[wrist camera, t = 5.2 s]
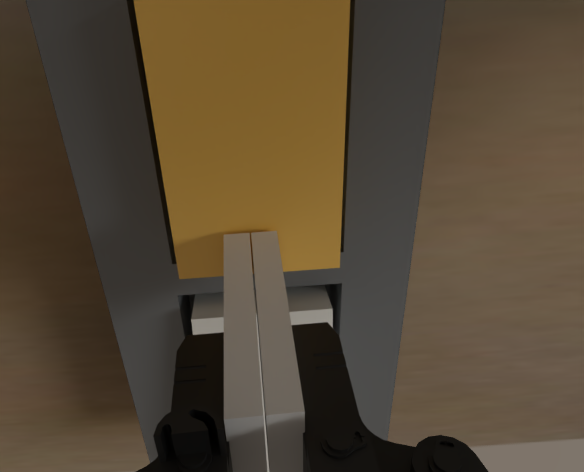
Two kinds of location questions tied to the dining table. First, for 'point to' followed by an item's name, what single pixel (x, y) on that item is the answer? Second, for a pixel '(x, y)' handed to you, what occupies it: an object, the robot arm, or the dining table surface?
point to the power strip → (153, 206)
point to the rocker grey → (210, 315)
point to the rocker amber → (249, 124)
